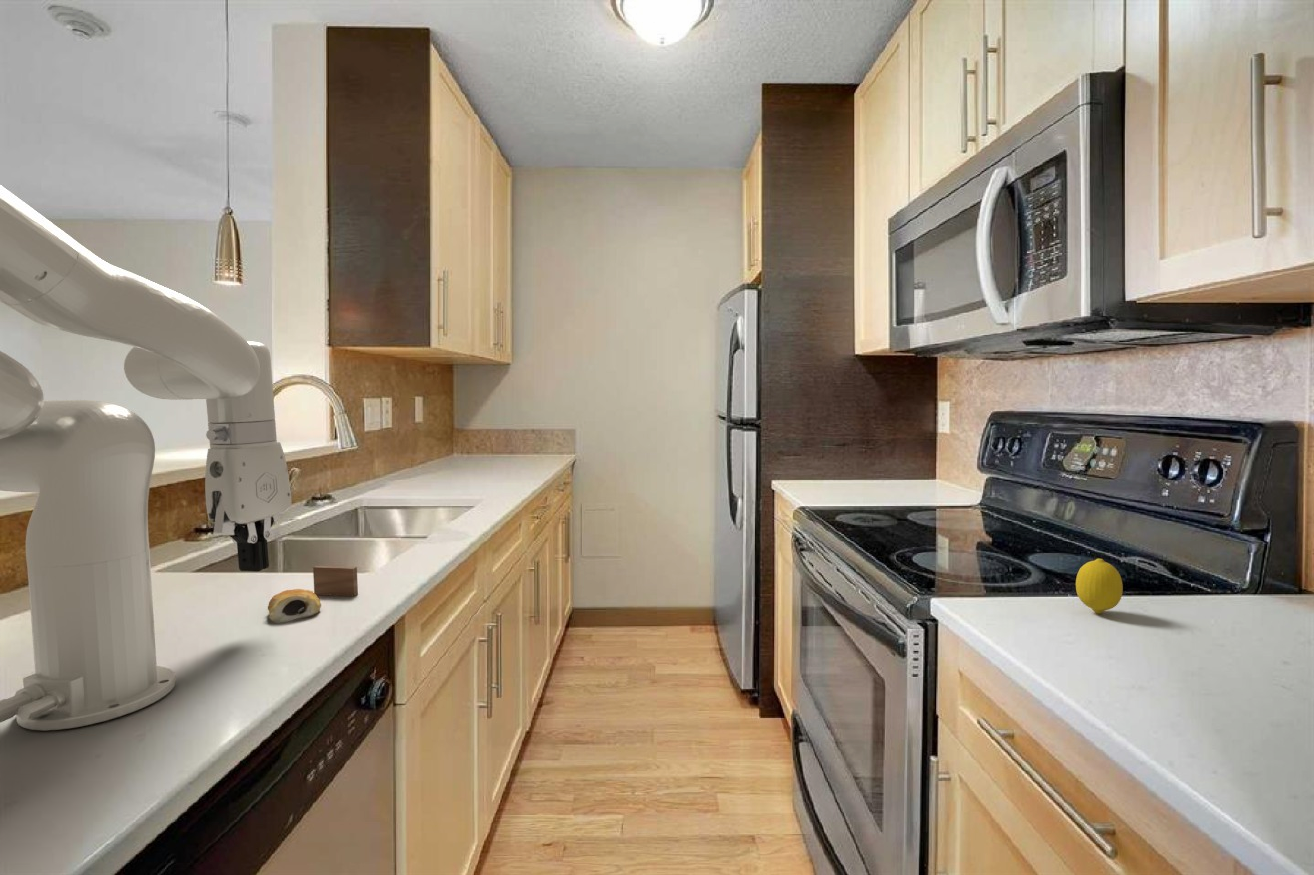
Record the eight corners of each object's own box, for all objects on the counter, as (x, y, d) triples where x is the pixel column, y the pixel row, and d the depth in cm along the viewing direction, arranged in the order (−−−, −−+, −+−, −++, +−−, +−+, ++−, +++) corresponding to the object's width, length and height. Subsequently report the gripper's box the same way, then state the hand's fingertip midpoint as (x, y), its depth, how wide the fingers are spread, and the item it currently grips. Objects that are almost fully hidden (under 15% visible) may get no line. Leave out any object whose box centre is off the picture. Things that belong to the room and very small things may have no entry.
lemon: (1114, 623, 88) (1116, 565, 87) (1068, 612, 92) (1070, 558, 92) (1126, 614, 91) (1129, 559, 91) (1082, 604, 96) (1084, 551, 95)
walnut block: (354, 596, 102) (353, 568, 102) (314, 594, 103) (313, 567, 103) (357, 594, 103) (356, 567, 103) (318, 592, 104) (317, 565, 104)
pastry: (266, 608, 98) (265, 584, 97) (316, 600, 101) (315, 576, 101) (269, 626, 90) (268, 600, 90) (323, 617, 94) (322, 591, 93)
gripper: (222, 441, 77) (235, 588, 79) (307, 429, 92) (316, 554, 94) (168, 440, 78) (181, 586, 80) (260, 429, 93) (270, 553, 95)
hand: (254, 569), depth 87 cm, fingers closed
